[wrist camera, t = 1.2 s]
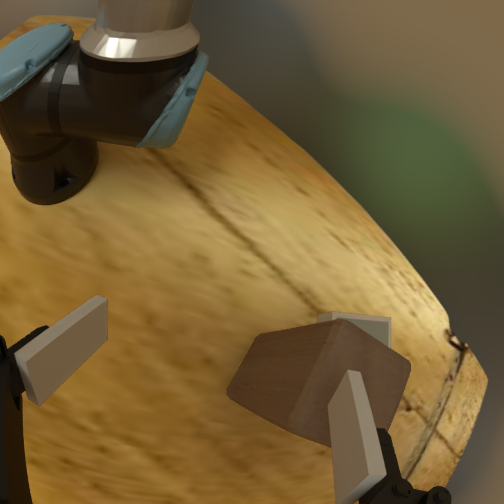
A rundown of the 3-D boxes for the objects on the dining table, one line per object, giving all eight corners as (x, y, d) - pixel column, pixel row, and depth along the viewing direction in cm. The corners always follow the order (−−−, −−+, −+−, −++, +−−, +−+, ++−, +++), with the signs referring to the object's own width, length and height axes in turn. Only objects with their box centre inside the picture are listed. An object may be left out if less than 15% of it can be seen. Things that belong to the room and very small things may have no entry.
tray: (317, 315, 43) (332, 311, 39) (375, 320, 46) (391, 317, 43) (312, 392, 39) (328, 395, 35) (372, 389, 42) (389, 390, 38)
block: (312, 363, 40) (417, 361, 22) (282, 423, 36) (378, 461, 18) (257, 331, 39) (344, 311, 21) (221, 394, 35) (288, 432, 17)
